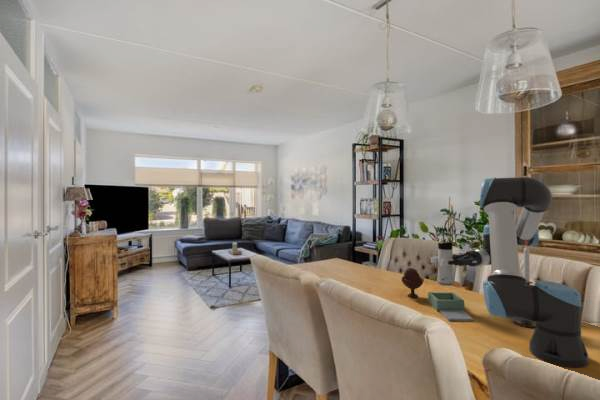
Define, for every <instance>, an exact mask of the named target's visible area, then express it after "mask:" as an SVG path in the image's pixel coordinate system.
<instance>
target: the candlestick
mask: <svg viewBox="0 0 600 400" xmlns="http://www.w3.org/2000/svg"><path fill="white" fill-rule="evenodd" d="M525 244H526V246H524V247H525V248H523V277H524V278H526V284H527V285H531V284H533V282H532V281H530V248H529V246H527V245H528V242H527V240H526V238H525ZM512 319H513V318H512ZM512 321H513V323H514V324H515V325H517V326H519V327H521V328H525V329H526V328H527V329H535V327H536V321H528V320H521V319H513V320H512Z"/></svg>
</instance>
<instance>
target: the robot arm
mask: <svg viewBox="0 0 600 400" xmlns="http://www.w3.org/2000/svg"><path fill="white" fill-rule="evenodd" d="M479 197H480V198H479V207H481V208H483V211H484V213H486V214H487V215H488V224H485V225H484V226H483V234H482V235H483V249H474V250H467V251H466V252H465V253H464V254H462V253H461V254H456V253H453V259H445V260H441V266H449V265H453V266H459V267H463V266H469V267H479V266H480V267H483V266H489V265H491V273H489V275H488V276H487V280H484V281H483V282H482V289H483V297H484V303H485V306H486V309H487V312H488V313H489V314H490V315H491V316H493V317H498V318H499V317H500V318H503V319H521V320H528V321H536V327H535V328H534V331H533V333H532V335H531V338H530V340H529V343H528V348H529V349H528V350H529V352H530V353H531V354H532V355H533V356H535V357H537V358H538V357H539V359H541V360H542V359H543V361H545V362H548V363H550V364H554V365H557V366H561V367H562V366H563V367H570V368H583V367H586V366H587V365H589V354H588V351H587V349H586V345H585V343H584V341H583V339H582V307H583V304H582V297H581V294H580V292H579V291H578V290H577V289H576V288H573V287H571V286H569V285H566V284H561V283H557V282H553V281H549V280H536V281H535V283H534V284H532V285H531V284H530V285H527V284H526V278H524V275H522V274H521V269H520V260H519V246H523V247H526V244H525V238H526V240H527V242H528V245H527V247H536V246H538V245H539V241H540V238H539V237H540V236H539V232H538V228H539V225H540V223H541V220H542V218H543V216H544V214H545V212H546V211H548V210H549V209H550V207H551V205H552V201H553V197H552V193H551V190H550V188H549V187H548V186H547V185H546V184H545V183H544V182H542V181H541V180H539V179H537V178H534V177H530V176H522V177H521V176H520V177H516V176H515V177H492V178H489V177H488V178H485V179H483V181H482V183H481V190H480V196H479ZM520 208H521V210H520ZM519 210H520V214H519V217H518V221H517V224H516V219H515V218H516V217H515V214H516V213H517V212H519ZM429 260H430V264H438V256H431V257H430V259H429Z"/></svg>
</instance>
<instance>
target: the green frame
mask: <svg viewBox="0 0 600 400" xmlns="http://www.w3.org/2000/svg"><path fill="white" fill-rule="evenodd" d="M427 298H428V299H427V300H428V303H427V304H429V305H430V306H431V307H432V308H433V310H435V311H436V312H440V310H463V311H465V300H464V299H463V298H461V296H459V295H457V293H455V292H454V291H453V292H444V291H443V292H441V291H436V292H434V291H433V292H432V291H431V292H430V291H429V292H427Z"/></svg>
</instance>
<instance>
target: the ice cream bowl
mask: <svg viewBox="0 0 600 400" xmlns="http://www.w3.org/2000/svg"><path fill="white" fill-rule="evenodd" d="M404 271H405V272H403V276H402V277H401V282H402V284H403V285H404V286H405V287H407V288H408V289H410V293H408V294H407V298H410V299H418V298H419V295H418V294H416V293H415V290H417V289H419V288H420V287H421V286H422V285H423V283H424V280H425V278H423V277H421V276H420V274H419V272H418V271H417V270H416V269H415V268H414V267H408V268H406V270H404Z"/></svg>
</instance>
